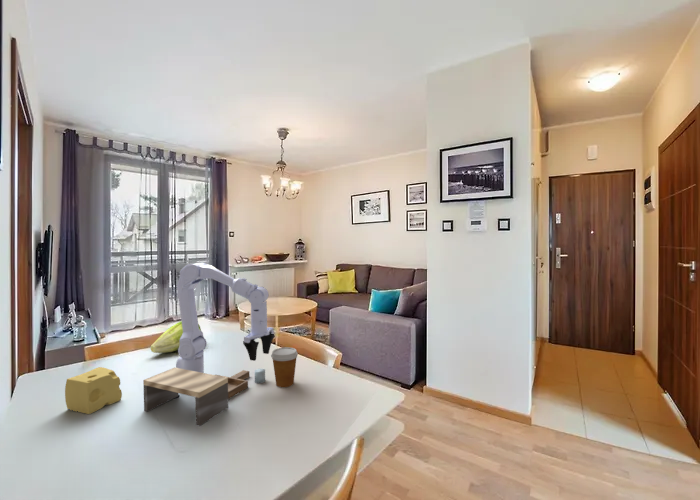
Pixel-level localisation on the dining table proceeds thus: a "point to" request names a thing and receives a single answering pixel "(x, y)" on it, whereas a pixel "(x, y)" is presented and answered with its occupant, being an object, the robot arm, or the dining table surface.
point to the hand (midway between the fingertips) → (259, 356)
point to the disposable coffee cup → (284, 365)
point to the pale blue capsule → (259, 375)
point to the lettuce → (169, 339)
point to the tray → (237, 383)
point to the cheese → (92, 390)
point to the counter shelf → (188, 391)
